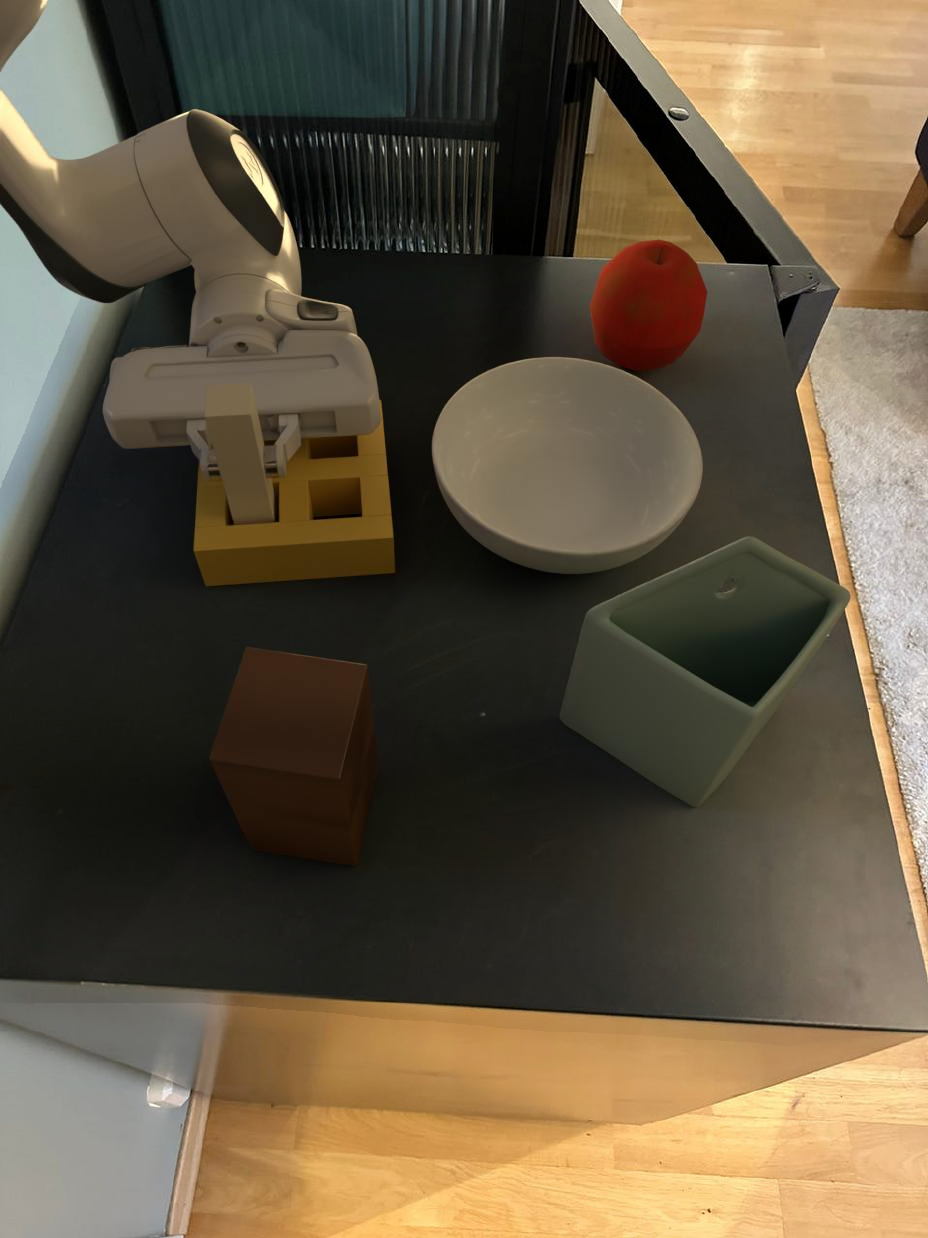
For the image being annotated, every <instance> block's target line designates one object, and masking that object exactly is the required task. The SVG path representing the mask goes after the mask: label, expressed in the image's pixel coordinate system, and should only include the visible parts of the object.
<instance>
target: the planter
mask: <svg viewBox="0 0 928 1238" xmlns="http://www.w3.org/2000/svg"><path fill="white" fill-rule="evenodd" d="M731 578H734V580H733V584H734V585H735V587H733V588H732V589H730V590H728V591H724V592H720V591H719V592H718V590H719V589H720V588H722V587H723V586H724V585H725V583H726V581H727V580H729V579H731ZM850 601H851V592H850V591H849V590H848V589H847V588H846V587H844V586H843V585H841V584H839V583H836V582H835V581H833V580H831V579H830V578H828V577H826V576H824V575H823V574H821V573H820V572H817V571H816V570H815V569H812V568H810V567H808V566H807V565H805V564H803V563H801V562H799V561H796V560H795V559H792V558H791V557H789V556H787V555H786V554H784V553H782V552H780V551H778V550H776V549H775V548H774V547H772V546H770V544H769V545H768V544H767V543H765V542H763V541H762V540H760V539H758V538H757V537H754V536H745V537H742V538H740V539H737V540H735V541H733V542H731V543H729V544H726V545H725V546H723V547H720V548H719V549H716V550H713V551H712V552H710V553H708V554H706V555H704V556H702V557H699V558H697V559H695V560H693V561H691V562H688V563H686V564H684V565H682V566H680V567H678V568H676V569H673V570H671V571H669V572H667V573H664V574H662V575H660V576H658V577H656V578H654V579H651V580H649V581H646V582H645V583H642V584H640V585H637V586H635V587H634V588H631V589H629V590H627V591H625V592H622V593H621V594H618V595H616V596H615V597H612V598H610V599H608V600H605V601H603V602H601V603H599V604H597V605H595V606H592V607H591V608H590V609H589V610H587V612H586V613H585V617H584V620H583V623H582V626H581V630H580V633H579V637H578V640H577V641H578V642H577V645H576V649H575V653H574V658H573V661H572V665H571V669H570V673H569V676H568V681H567V684H566V688H565V692H564V696H563V700H562V705H561V708H560V712H559V720H560V721H561V723H563V725H564V726H566V727H568V728H569V729H571V730H572V731H573V732H575V733H577V734H578V735H580V736H581V737H583V738H584V739H586V740H588V741H589V742H591V743H592V744H594V745H595V746H596V747H598V748H600V749H602V750H603V751H604V752H606V753H608V754H609V755H611V756H612V757H614V758H615V759H617V760H618V761H619V762H621V763H623V764H624V765H625V766H627V767H628V768H630V769H632V770H633V771H635V772H636V773H638V775H640V776H642V777H644V778H645V779H647V780H648V781H649V782H651V783H653V784H654V785H656V786H657V787H659V788H660V789H662V790H664V791H665V792H667V793H669V794H671V795H672V796H674V797H675V798H677V799H679V800H680V801H682V802H683V803H686V804H688V806H691V807H693V808H700V807H701V806H702V805H703V804H704V803H705V802H706V801H707V800H708V799H709V798H710V797H711V795H712V794H713V793H714V792H715V791H716V790H717V789H718V788H719V787H720V786H721V785H722V783H723V782H724V781H725V780H726V779H727V777H728V776H729V774H730V773H731V772H732V771H733V769H734V768H735V766H737V764H738V763H739V761H740V760H741V759H742V757H743V756H744V754H745V753H746V751H747V750H748V749H749V747H750V746H751V744H752V743H753V741H754V740H755V739H756V737H757V736H758V735H759V733H760V732H761V731H762V730H763V728H764V727H765V726H766V725H767V723H768V722H769V721H770V719H771V718H772V717H773V716H774V715H775V713H776V712H777V711H778V710H779V708H780V707H781V705H782V703H783V702H784V701H785V700H786V698H787V696H788V695H789V693H790V692H791V690H792V689H793V687H794V686H795V684H796V682H797V681H798V680H799V678H800V677H801V675H802V674H803V672H804V671H805V669H806V668H807V667H808V666H809V664H810V662H811V661H812V660H813V658H814V656H815V655H816V654H817V652H818V650H819V649H820V647H821V646H822V644H823V643H824V642H825V640H826V638H827V637H828V636H829V634H830V633H831V631H832V629H833V628H834V627H835V625H836V624H837V622H838V620H839V619H840V617H842V614H843V613H844V611H845V610H846V609H847V606H848V605H849V604H850Z"/></svg>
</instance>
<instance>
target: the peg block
mask: <svg viewBox="0 0 928 1238" xmlns="http://www.w3.org/2000/svg"><path fill="white" fill-rule="evenodd" d="M379 404H380V425H379V426H378V427H377V428H376V429H375V430H374V431H373V432H372V433H371V434H368V435H352V436H336V437H319V438H302V439H301V446H300V447H299V448H298V450H297V451H296V452H295V453H294V455H293V456H292V457H291V458H290V459H289V461H286V477H278V478H271V479H272V484H273V489H274V493H275V498H276V503H277V508H278V512H279V522H277V523H262V524H246V525H234V522H233V518H232V514H231V511H230V507H229V503H228V500H227V496H226V493H225V489H224V485H223V482H222V481H214V482H204V479H203V476H202V473H201V467H200V461H199V460H198V469H197V486H196V487H197V488H196V502H195V503H196V505H195V518H194V519H195V521H194V524H195V525H194V533H193V534H194V536H193V537H194V538H193V553H194V556H195V559H196V562H197V565H198V568H199V571H200V574H201V577H202V579H203V582H204V585H205V587H215V586H217V587H218V586H233V585H244V584H245V585H246V584H247V585H248V584H260V583H273V582H287V581H302V580H314V579H316V580H317V579H329V578H330V579H331V578H341V577H344V578H345V577H357V576H372V575H385V574H396V562H395V561H396V559H395V558H396V557H395V540H394V528H393V517H392V506H391V505H392V504H391V495H390V494H391V493H390V485H389V483H390V482H389V475H388V474H389V472H388V463H387V450H386V449H387V448H386V441H385V430H384V429H385V428H384V426H385V425H384V417H383V416H384V415H383V406H382V400H381V399H379ZM276 441H277V440H269V441H264V446H269V445H274V444H275V443H276ZM211 449H213V445H212V446H211ZM349 515H351V516H352V515H361V516H356V517H339V518H338V517H337V516H349ZM333 516H334V517H335V516H336V517H337V518H325V519H314V518H320V517H333Z"/></svg>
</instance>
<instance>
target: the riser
mask: <svg viewBox="0 0 928 1238" xmlns="http://www.w3.org/2000/svg"><path fill="white" fill-rule="evenodd" d="M240 660H241V661H240V663H239V666H238V669H237V672H236V676H235V678H234V681H233V683H232V688H231V690H230V693H229V697H228V700H227V703H226V705H225V709H224V712H223V714H222V717H221V721H220V724H219V726H218V730H217V732H216V736H215V739H214V742H213V744H212V748H211V751H210V754H209V756H208V759H209V762H210V764H211V766H212V768H213V771H214V773H215V775H216V777H217V779H218V782H219V783H220V785H221V788H222V790H223V792H224V794H225V796H226V798H227V800H228V802H229V805H230V807H231V809H232V812H233V814H234V815H235V817H236V820H237V822H238V824H239V826H240V829H241V831H242V832H243V835H244V837H245V839H246V841H247V843H248V846H249V848H250V850H251V851H255V852H260V853H261V852H263V853H268V854H274V855H281V856H287V857H293V858H300V859H306V860H312V861H317V862H325V863H330V864H337V865H344V866H350V867H355V868H356V867H358V864H359V860H360V855H361V850H362V845H363V843H364V842H363V841H364V836H365V832H366V827H367V823H368V818H369V814H370V810H371V805H372V800H373V795H374V791H375V787H376V782H377V777H378V774H379V773H378V772H379V761H378V753H377V743H376V733H375V724H374V714H373V713H374V712H373V705H372V695H371V687H370V685H371V684H370V678H369V668H368V667H369V666H368V665H367V664H365V663H360V662H359V663H358V662H352V661H345V660H339V659H332V658H331V659H330V658H325V657H318V656H312V655H311V656H310V655H303V654H297V653H291V652H290V653H289V652H284V651H277V650H270V649H263V648H258V647H250V646H245V648H244V650H243V654H242V657H241V659H240Z"/></svg>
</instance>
